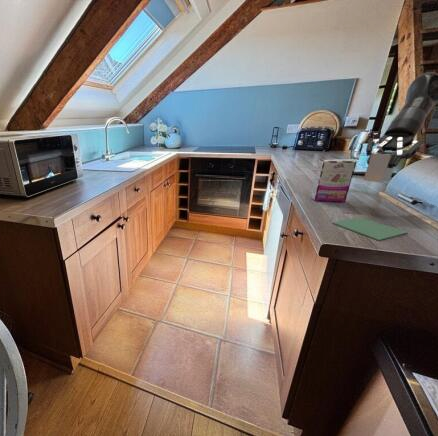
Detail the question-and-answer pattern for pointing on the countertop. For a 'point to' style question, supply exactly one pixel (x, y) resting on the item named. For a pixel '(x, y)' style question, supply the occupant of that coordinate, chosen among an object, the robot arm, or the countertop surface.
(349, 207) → the countertop surface
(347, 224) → the green mat
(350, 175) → the candy bar box
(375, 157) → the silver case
